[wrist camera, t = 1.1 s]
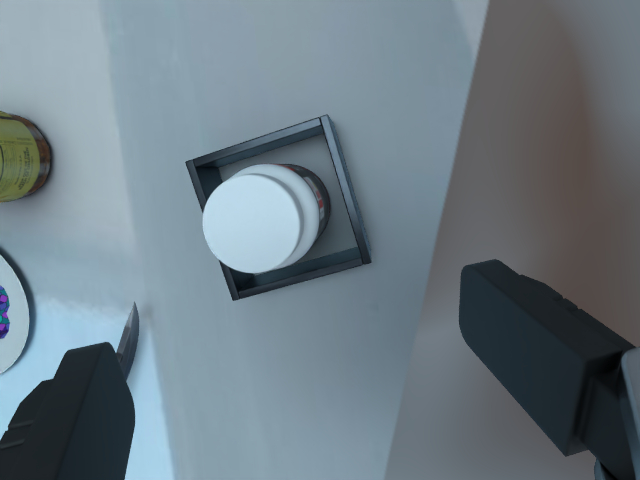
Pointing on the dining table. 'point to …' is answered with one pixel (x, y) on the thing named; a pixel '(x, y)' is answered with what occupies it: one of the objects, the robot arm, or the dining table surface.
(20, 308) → the pudding
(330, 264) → the holder
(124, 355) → the knife
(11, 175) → the sauce bottle
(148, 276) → the dining table surface
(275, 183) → the pill bottle
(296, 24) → the dining table surface
